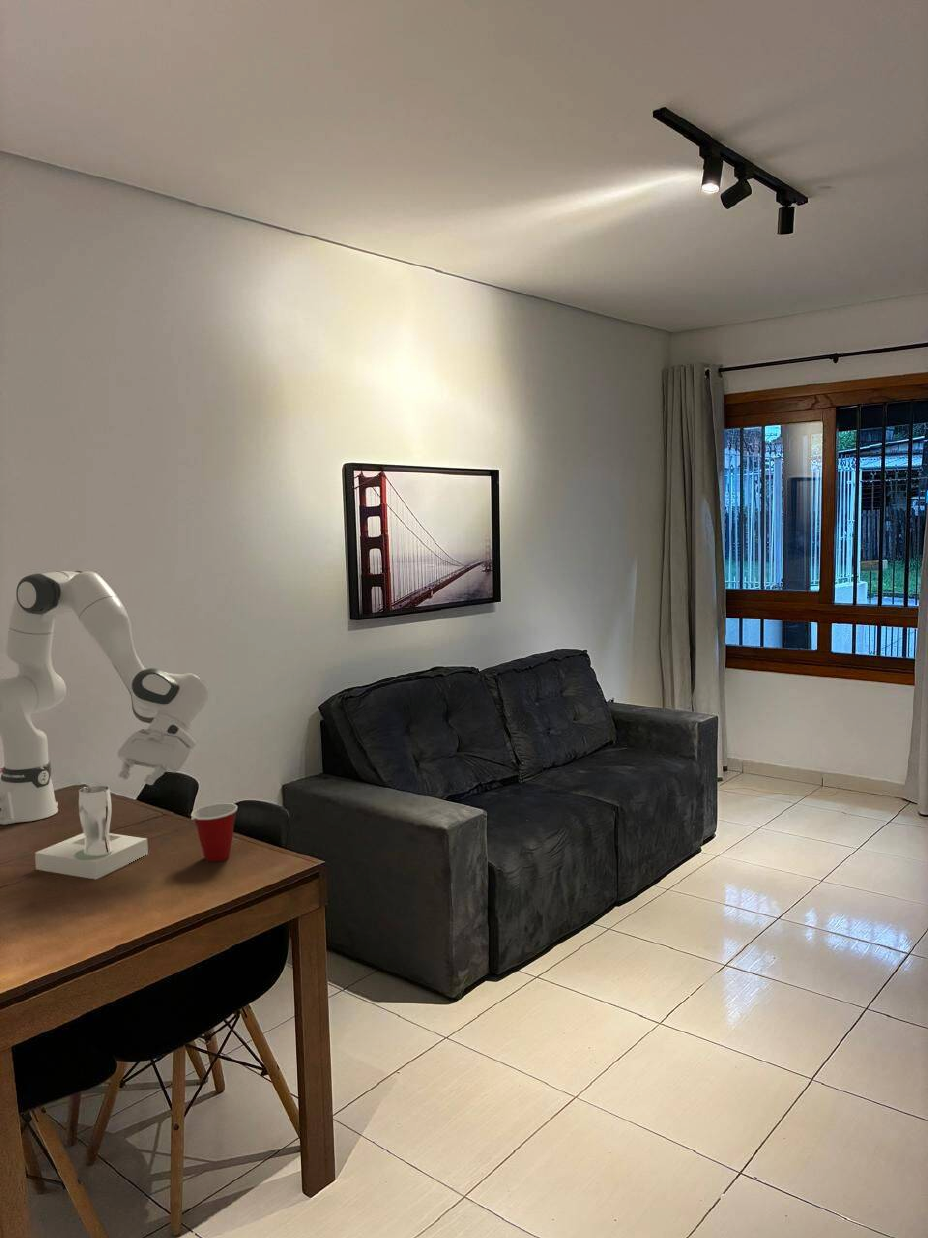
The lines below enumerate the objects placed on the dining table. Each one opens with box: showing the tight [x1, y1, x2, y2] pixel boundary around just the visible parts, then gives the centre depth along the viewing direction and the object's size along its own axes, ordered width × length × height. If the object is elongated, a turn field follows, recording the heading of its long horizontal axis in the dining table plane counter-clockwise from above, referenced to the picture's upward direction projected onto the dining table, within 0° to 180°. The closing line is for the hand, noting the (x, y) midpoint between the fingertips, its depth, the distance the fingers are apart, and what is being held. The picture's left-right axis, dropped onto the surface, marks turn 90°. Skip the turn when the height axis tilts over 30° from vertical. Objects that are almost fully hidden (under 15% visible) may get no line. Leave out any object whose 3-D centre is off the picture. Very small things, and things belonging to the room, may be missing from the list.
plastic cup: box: [190, 802, 238, 863], centre depth 222 cm, size 11×11×12 cm
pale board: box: [34, 832, 149, 880], centre depth 221 cm, size 18×17×4 cm
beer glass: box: [78, 784, 113, 857], centre depth 214 cm, size 7×7×15 cm
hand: (134, 780), depth 223 cm, fingers open, 8 cm apart
